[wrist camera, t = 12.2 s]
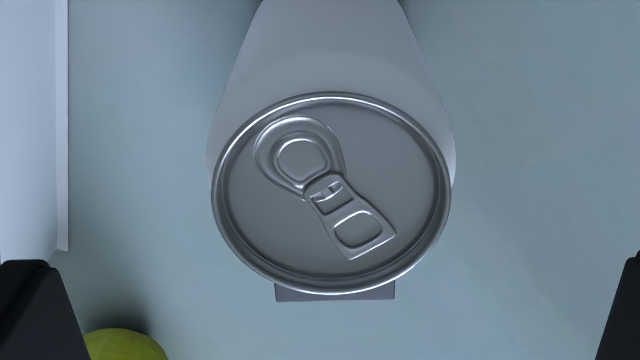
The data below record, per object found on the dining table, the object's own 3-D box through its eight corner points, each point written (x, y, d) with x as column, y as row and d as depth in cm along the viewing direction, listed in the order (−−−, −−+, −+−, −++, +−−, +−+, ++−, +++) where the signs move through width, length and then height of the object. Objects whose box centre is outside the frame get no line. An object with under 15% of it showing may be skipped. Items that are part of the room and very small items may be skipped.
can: (350, -76, 21) (371, 10, 11) (437, 61, 24) (518, 232, 14) (217, 24, 23) (132, 176, 13) (311, 141, 26) (301, 342, 16)
